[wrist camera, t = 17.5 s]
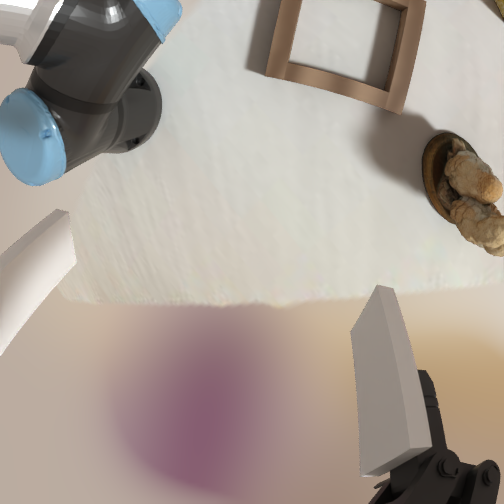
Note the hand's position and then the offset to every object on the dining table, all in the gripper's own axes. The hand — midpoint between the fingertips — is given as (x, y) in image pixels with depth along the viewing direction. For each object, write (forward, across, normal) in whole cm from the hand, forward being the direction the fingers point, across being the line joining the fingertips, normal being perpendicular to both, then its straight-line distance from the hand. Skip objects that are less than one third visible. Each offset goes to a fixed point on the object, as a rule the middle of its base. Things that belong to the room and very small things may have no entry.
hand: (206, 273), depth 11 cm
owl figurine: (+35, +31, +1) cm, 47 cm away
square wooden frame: (+35, +7, +17) cm, 39 cm away
